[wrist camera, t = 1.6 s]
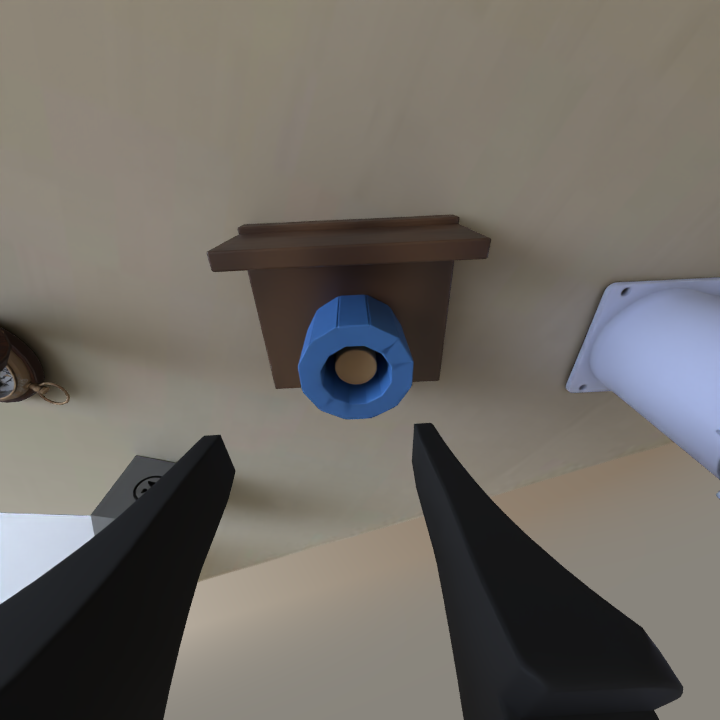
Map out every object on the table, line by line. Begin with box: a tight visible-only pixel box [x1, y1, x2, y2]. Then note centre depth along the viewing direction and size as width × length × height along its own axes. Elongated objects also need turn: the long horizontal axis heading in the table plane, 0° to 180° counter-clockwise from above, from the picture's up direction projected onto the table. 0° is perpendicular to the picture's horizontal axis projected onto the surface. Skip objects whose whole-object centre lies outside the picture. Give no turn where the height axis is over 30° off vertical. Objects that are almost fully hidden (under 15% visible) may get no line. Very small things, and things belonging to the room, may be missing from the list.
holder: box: [207, 215, 491, 389], centre depth 16 cm, size 11×10×5 cm
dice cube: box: [91, 456, 176, 536], centre depth 24 cm, size 5×5×5 cm
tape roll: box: [298, 295, 414, 419], centre depth 16 cm, size 6×6×4 cm
